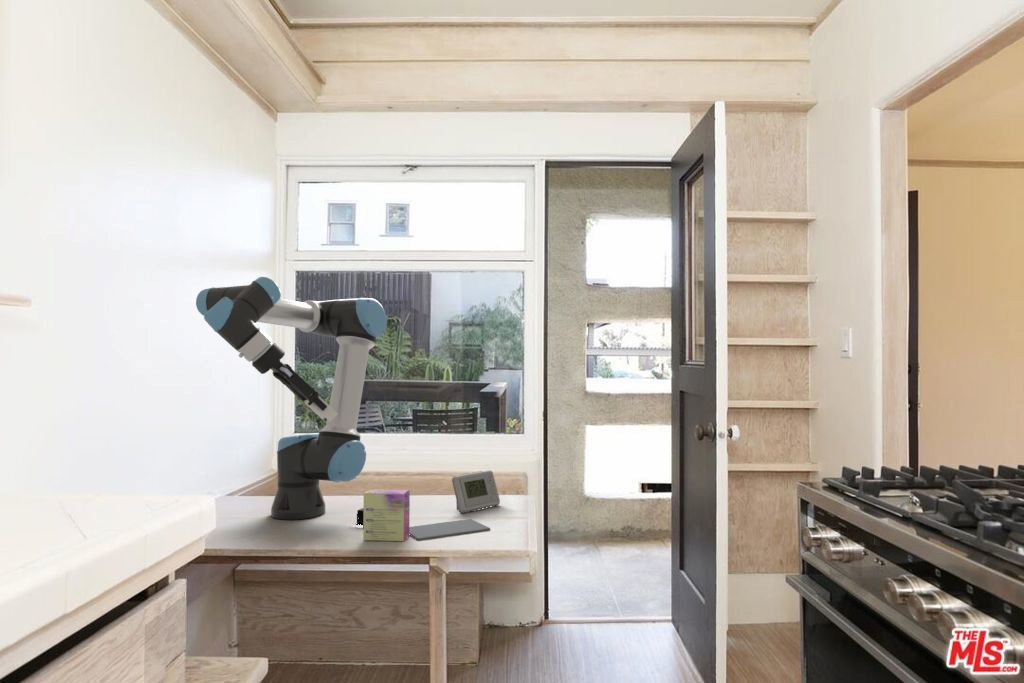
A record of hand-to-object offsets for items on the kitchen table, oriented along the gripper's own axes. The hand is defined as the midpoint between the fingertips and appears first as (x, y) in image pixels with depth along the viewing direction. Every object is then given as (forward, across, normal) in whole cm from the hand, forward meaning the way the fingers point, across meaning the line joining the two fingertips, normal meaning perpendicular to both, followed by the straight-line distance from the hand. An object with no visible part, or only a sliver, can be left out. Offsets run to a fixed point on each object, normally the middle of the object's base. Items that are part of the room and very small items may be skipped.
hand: (329, 416), depth 168 cm
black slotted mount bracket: (+31, -10, -14) cm, 35 cm away
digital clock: (+55, -12, +11) cm, 57 cm away
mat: (+42, +7, -1) cm, 42 cm away
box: (+31, +7, -13) cm, 34 cm away
